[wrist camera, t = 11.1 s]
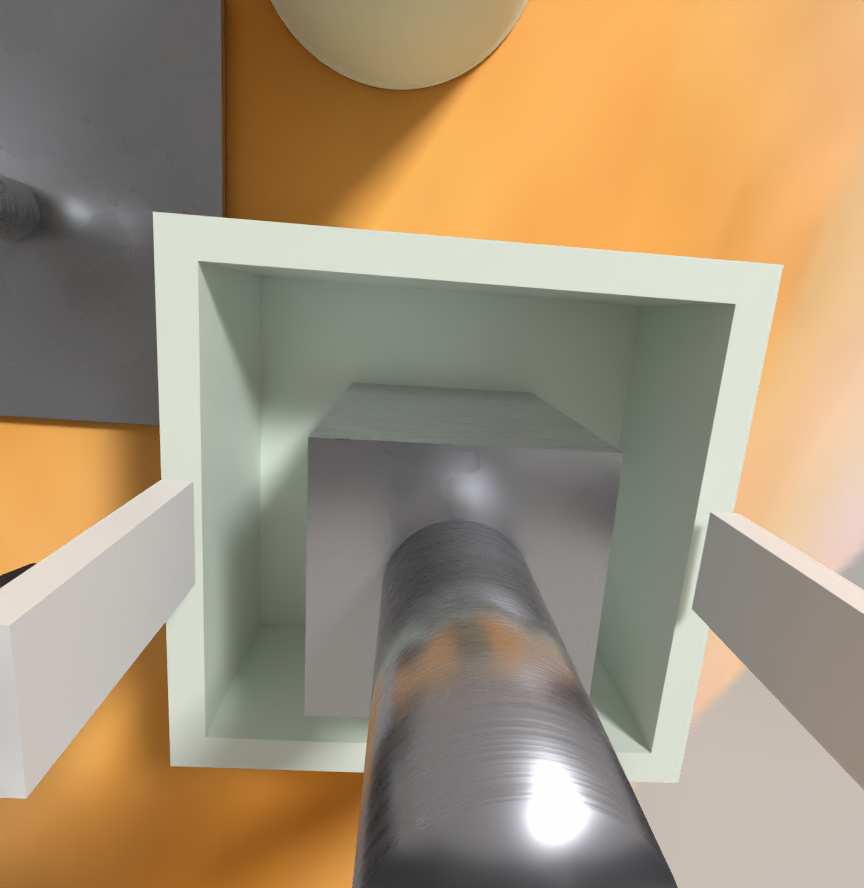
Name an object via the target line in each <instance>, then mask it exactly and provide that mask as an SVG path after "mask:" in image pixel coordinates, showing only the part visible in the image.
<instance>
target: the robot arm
mask: <svg viewBox="0 0 864 888" xmlns="http://www.w3.org/2000/svg"><path fill="white" fill-rule="evenodd" d="M194 585H195V541H194V488H193V481H181V480H165V479H161V480H160V481H158V482H157V483H155V484H154V485H152V486H151V487H149V488H148V489H147V490H145V491H144V492H142V493H141V494H139V495H138V496H136V497H135V498H133V499H132V500H130V501H129V502H127V503H126V504H124V505H123V506H121V507H120V508H118V509H117V510H115V511H114V512H112V513H111V514H110V515H108V516H107V517H105V518H104V519H102V520H101V521H99V522H98V523H96V524H95V525H93V526H92V527H90V528H89V529H87V530H86V531H84V532H83V533H81V534H80V535H78V536H77V537H76V538H74V539H73V540H71V541H70V542H68V543H67V544H65V545H64V546H62V547H61V548H59V549H58V550H56V551H55V552H53V553H52V554H50V555H49V556H47V557H46V558H44V559H43V560H42V561H40V562H39V563H32V564H29V565H26V566H24V567H21V568H19V569H16V570H14V571H11V572H8V573H6V574H3V575H1V576H0V798H25V799H27V797H28V796H29V795H30V794H31V792H32V791H33V790H34V788H35V787H36V786H37V785H38V783H39V782H40V781H41V780H42V778H43V777H44V776H45V775H46V773H47V772H48V771H49V769H50V768H51V767H52V766H53V764H54V763H55V762H56V761H57V759H58V758H59V757H60V755H61V754H62V753H63V752H64V750H65V749H66V748H67V747H68V745H69V744H70V743H71V741H72V740H73V739H74V738H75V736H76V735H77V734H78V733H79V731H80V730H81V729H82V727H83V726H84V725H85V724H86V722H87V721H88V720H89V719H90V717H91V716H92V715H93V713H94V712H95V711H96V710H97V708H98V707H99V706H100V705H101V703H102V702H103V701H104V699H105V698H106V697H107V696H108V694H109V693H110V692H111V691H112V689H113V688H114V687H115V685H116V684H117V683H118V682H119V680H120V679H121V678H122V677H123V675H124V674H125V673H126V671H127V670H128V669H129V668H130V666H131V665H132V664H133V663H134V661H135V660H136V659H137V657H138V656H139V655H140V654H141V652H142V651H143V650H144V649H145V647H146V646H147V645H148V644H149V642H150V641H151V640H152V638H153V637H154V636H155V635H156V633H157V632H158V631H159V630H160V628H161V627H162V626H163V624H164V623H165V622H166V621H167V619H168V618H169V617H170V616H171V614H172V613H173V612H174V610H175V609H176V608H177V607H178V605H179V604H180V603H181V602H182V600H183V599H184V598H185V596H186V595H187V594H188V593H189V591H190V590H191V589H192V588H193V586H194ZM692 610H693V611H694V612H695V613H696V614H697V615H698V616H699V617H700V618H701V619H702V620H703V621H704V622H705V623H706V624H707V625H708V627H709V628H710V629H711V630H712V631H713V632H714V633H715V634H716V635H717V636H718V637H719V638H720V639H721V640H722V641H723V642H724V643H725V644H726V645H727V647H728V648H729V649H730V650H731V651H732V652H733V653H734V654H735V655H736V656H737V657H738V658H739V659H740V660H741V661H742V662H743V663H744V664H745V665H746V666H747V668H748V669H749V670H750V671H751V672H752V673H753V674H754V675H755V676H756V677H757V678H758V679H759V680H760V681H761V682H762V683H763V684H764V685H765V686H766V687H767V689H768V690H769V691H770V692H771V693H772V694H773V695H774V696H775V697H776V698H777V699H778V700H779V701H780V702H781V703H782V704H783V705H784V706H785V708H786V709H787V710H788V711H789V712H790V713H791V714H792V715H793V716H794V717H795V718H796V719H797V720H798V721H799V722H800V723H801V724H802V725H803V726H804V727H805V729H807V731H808V732H809V733H810V734H811V735H812V736H813V737H814V738H815V739H816V740H817V741H818V742H819V743H820V744H821V745H822V746H823V747H824V748H825V750H826V751H827V752H828V753H829V754H830V755H831V756H832V757H833V758H834V759H835V760H836V761H837V762H838V763H839V764H840V765H841V766H842V767H843V768H844V770H845V771H846V772H847V773H848V774H849V775H850V776H851V777H852V778H853V779H854V780H855V781H856V782H857V783H858V784H859V785H860V786H861V787H862V788H863V790H864V590H863V589H861V588H860V587H858V586H856V585H855V584H853V583H851V582H850V581H848V580H846V579H845V578H843V577H842V576H840V575H838V574H837V573H835V572H833V571H832V570H830V569H828V568H827V567H825V566H824V565H822V564H820V563H819V562H817V561H815V560H814V559H812V558H811V557H809V556H807V555H806V554H804V553H802V552H801V551H799V550H797V549H796V548H794V547H793V546H791V545H789V544H788V543H786V542H784V541H783V540H781V539H779V538H778V537H776V536H775V535H773V534H771V533H770V532H768V531H766V530H765V529H763V528H762V527H760V526H758V525H757V524H755V523H753V522H752V521H750V520H748V519H747V518H745V517H744V516H742V515H740V514H736V513H719V512H710V516H709V521H708V527H707V532H706V537H705V542H704V547H703V552H702V558H701V563H700V568H699V573H698V578H697V583H696V588H695V594H694V599H693V604H692Z"/></svg>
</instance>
